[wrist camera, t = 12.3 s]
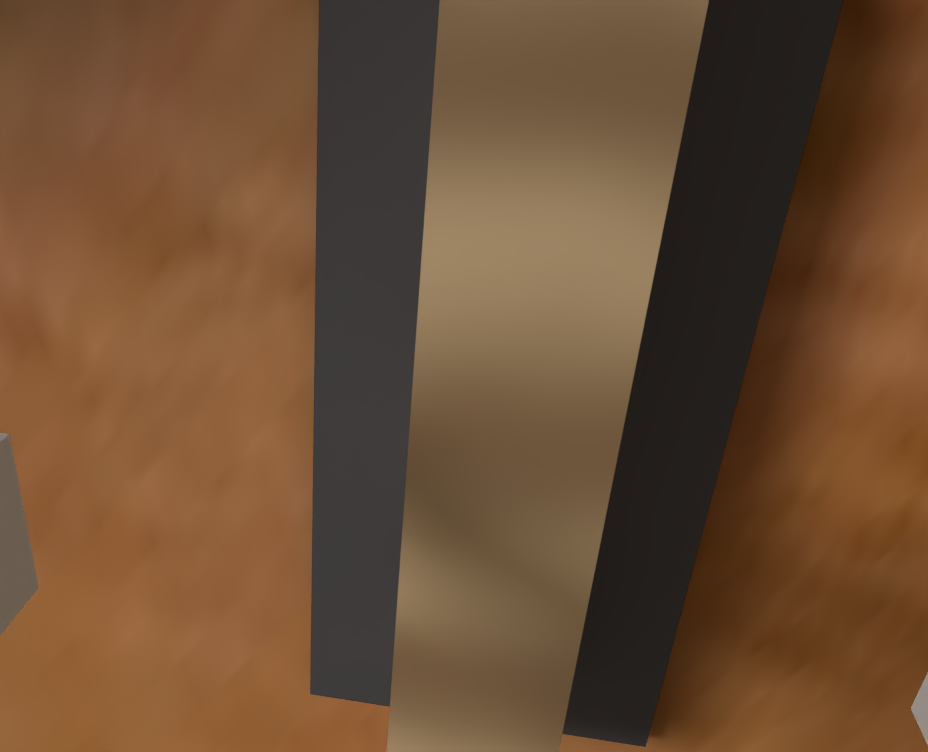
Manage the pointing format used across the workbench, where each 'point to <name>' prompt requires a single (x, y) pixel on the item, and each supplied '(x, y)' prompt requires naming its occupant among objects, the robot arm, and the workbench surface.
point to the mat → (659, 359)
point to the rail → (527, 348)
